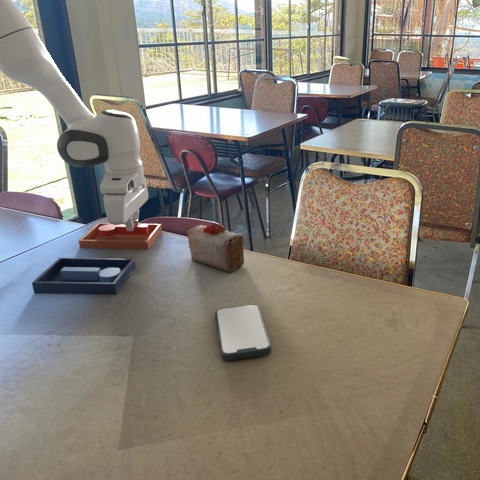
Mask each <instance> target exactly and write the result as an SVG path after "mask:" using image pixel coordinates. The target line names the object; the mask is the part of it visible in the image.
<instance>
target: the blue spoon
mask: <svg viewBox="0 0 480 480" xmlns="http://www.w3.org/2000/svg"><path fill="white" fill-rule="evenodd" d="M60 272H61V277H62V279H63V280H99V281H100V282H102V283H113V282H114V281H115V279H116V278H117V277H118V276H119V274H120V273H121V270H120V269H118V268H106V269H103V270H100V268H85V267H64V268H63V269H62V270H61V271H60Z"/></svg>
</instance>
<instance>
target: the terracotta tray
mask: <svg viewBox="0 0 480 480" xmlns="http://www.w3.org/2000/svg"><path fill="white" fill-rule="evenodd" d="M107 224H110V223H109V222H97V223H96V224H95V225H94V226H93V227H92V228H91V229H90V230H89V231H87V232H86V233H85V234H84V235H83V236H81V238H79V239H78V245H79V248H80V249H112V250H117V249H119V250H149V249H150V248H151V247H152V245H153V244H154V242H155V241H156V240H157V238H158V237H159V236H160V234H161V233H162V232H163V228H162V223H139V224H138V225H148V229H149V233H148V234H147V235H121V234H115V235H112V236H101V235H99V230H98V228H99V227H100V226H103V225H107Z"/></svg>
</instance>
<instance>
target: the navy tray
mask: <svg viewBox="0 0 480 480" xmlns="http://www.w3.org/2000/svg"><path fill="white" fill-rule="evenodd" d="M64 267H85V268H100V270H103V269H106V268H118V269H120V270H121V273H120V274H119V276H118V277H117V278H116V279H115V281H114V282H113V283H102V282H100V281H99V280H63V279H62V277H61V272H60V271H61V270H62V269H63V268H64ZM134 269H136V263H135V258H106V257H105V258H103V257H59V258H57V259H56V260H55V261H54V262H53V263H52V264H51V265H50V266H49V267H48V268H46V269H45V270H44V271H43V272H42V273H41V274H40V275H38V276H37V277H36V278H35V279H34V280H33V281H32V282H31V286H32V290H33V293H34V294H67V295H68V294H71V295H72V294H73V295H75V294H77V295H117V294H118V293H119V292H120V290H121V289H122V287H123V286H124V284H125V283H126V282H127V281H128V279H129V278H130V276H131V273H132V272H133V271H134Z"/></svg>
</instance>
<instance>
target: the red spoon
mask: <svg viewBox="0 0 480 480" xmlns="http://www.w3.org/2000/svg"><path fill="white" fill-rule="evenodd" d="M98 230H99V235H101V236H112V235H115V234H121V235H147V234H148V233H149V229H148V225H135V229H134V230H133V231H127V230H126V226H125V224H123V225H114V224H107V225H103V226H100V227H99V228H98Z"/></svg>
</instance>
